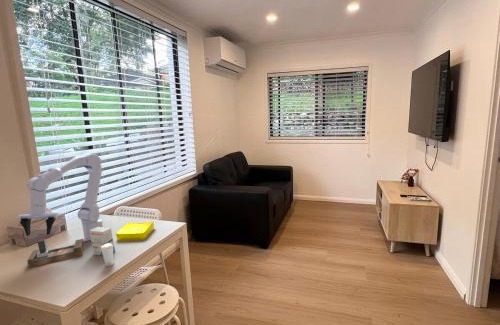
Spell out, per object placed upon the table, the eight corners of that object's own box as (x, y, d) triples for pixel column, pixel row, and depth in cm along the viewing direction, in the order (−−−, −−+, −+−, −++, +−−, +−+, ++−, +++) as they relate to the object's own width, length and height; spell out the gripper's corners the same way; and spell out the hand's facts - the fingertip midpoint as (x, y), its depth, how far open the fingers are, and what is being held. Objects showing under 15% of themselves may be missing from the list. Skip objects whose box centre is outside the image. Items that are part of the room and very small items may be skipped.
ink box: (115, 251, 131) (112, 227, 129) (107, 256, 127) (103, 232, 125) (101, 249, 134) (97, 226, 132) (92, 254, 130) (88, 230, 128)
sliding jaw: (51, 251, 131) (48, 236, 129) (48, 257, 125) (45, 241, 124) (40, 253, 129) (37, 238, 128) (37, 259, 124) (34, 244, 122)
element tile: (155, 228, 156) (154, 220, 156) (144, 240, 142) (143, 231, 141) (128, 229, 157) (127, 221, 156) (115, 242, 142) (114, 233, 141)
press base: (84, 246, 138) (82, 238, 138) (82, 255, 129) (80, 247, 129) (34, 257, 130) (32, 249, 129) (28, 267, 121) (26, 258, 120)
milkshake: (104, 262, 122) (100, 240, 120) (117, 261, 122) (113, 239, 120) (99, 268, 117) (96, 245, 116) (113, 266, 118) (109, 244, 116)
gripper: (14, 206, 120) (14, 238, 120) (53, 205, 124) (54, 236, 125) (21, 203, 126) (22, 233, 127) (59, 202, 131) (59, 231, 131)
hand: (38, 234), depth 126 cm, fingers open, 7 cm apart
